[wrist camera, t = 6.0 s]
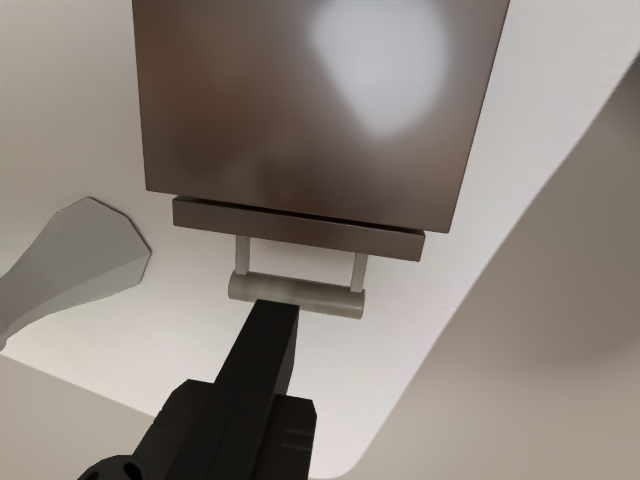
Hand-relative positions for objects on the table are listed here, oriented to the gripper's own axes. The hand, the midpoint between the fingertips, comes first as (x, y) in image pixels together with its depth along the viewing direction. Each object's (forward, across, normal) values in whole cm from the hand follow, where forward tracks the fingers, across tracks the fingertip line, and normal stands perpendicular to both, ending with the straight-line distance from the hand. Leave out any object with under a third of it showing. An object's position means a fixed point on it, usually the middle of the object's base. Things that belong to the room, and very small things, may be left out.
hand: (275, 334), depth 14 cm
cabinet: (+12, 0, +11) cm, 16 cm away
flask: (+12, -15, -4) cm, 20 cm away
